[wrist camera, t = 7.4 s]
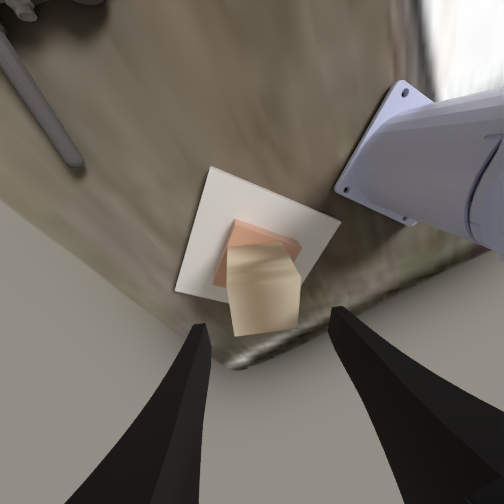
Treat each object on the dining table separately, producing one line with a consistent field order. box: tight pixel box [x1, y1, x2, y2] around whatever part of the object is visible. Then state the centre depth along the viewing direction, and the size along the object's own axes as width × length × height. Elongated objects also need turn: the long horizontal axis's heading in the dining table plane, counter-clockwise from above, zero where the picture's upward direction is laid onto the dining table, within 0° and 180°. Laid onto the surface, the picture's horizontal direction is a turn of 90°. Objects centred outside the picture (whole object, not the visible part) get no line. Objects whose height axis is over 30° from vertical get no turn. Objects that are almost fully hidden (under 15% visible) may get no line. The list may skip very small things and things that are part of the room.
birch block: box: [226, 242, 301, 337], centre depth 14 cm, size 4×4×5 cm
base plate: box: [175, 166, 341, 303], centre depth 18 cm, size 12×12×2 cm
